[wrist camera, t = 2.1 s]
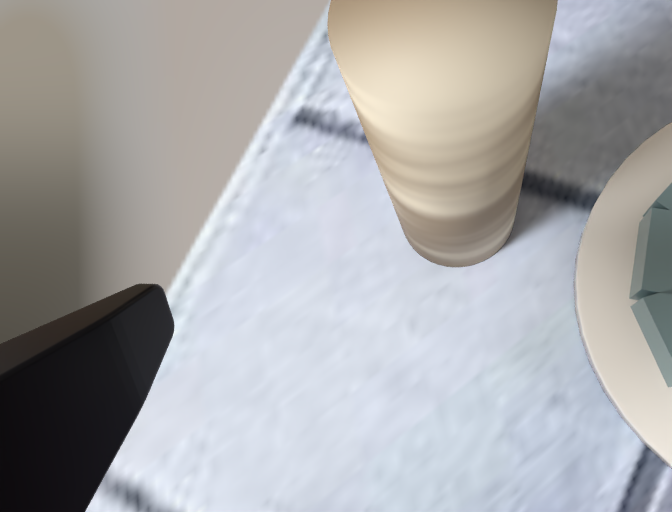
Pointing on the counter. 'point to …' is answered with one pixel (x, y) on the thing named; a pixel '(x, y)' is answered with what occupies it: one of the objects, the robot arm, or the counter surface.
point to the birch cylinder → (446, 110)
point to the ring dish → (610, 290)
